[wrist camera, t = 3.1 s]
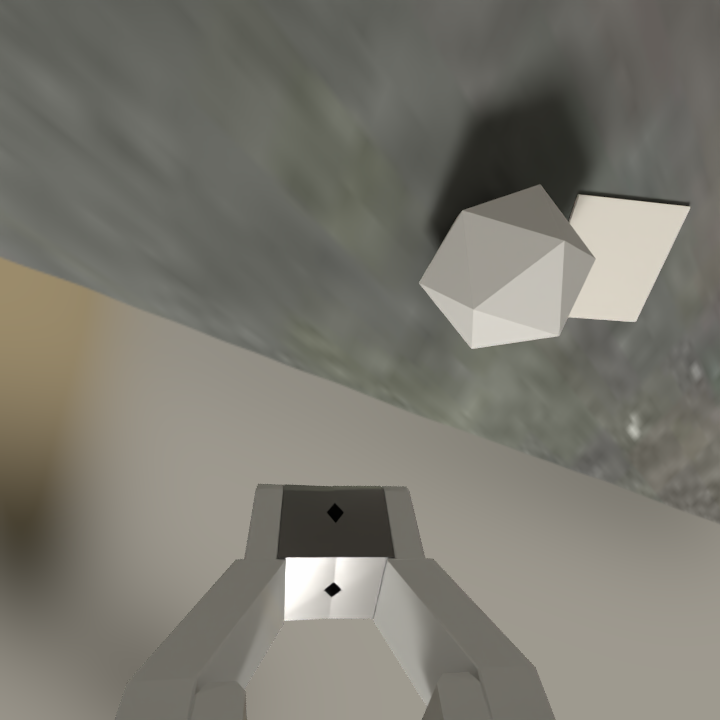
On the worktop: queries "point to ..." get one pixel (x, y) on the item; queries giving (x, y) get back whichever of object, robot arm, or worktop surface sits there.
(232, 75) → the worktop surface
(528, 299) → the die
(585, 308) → the pad
